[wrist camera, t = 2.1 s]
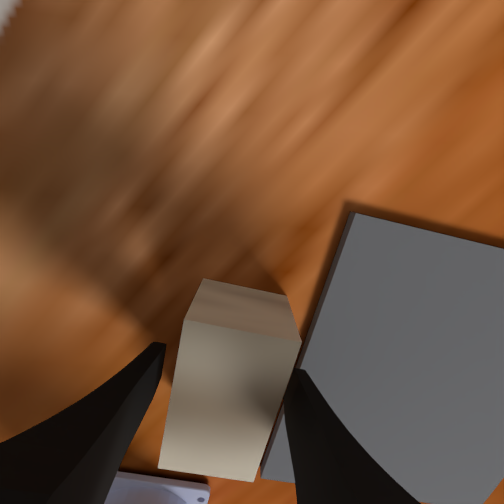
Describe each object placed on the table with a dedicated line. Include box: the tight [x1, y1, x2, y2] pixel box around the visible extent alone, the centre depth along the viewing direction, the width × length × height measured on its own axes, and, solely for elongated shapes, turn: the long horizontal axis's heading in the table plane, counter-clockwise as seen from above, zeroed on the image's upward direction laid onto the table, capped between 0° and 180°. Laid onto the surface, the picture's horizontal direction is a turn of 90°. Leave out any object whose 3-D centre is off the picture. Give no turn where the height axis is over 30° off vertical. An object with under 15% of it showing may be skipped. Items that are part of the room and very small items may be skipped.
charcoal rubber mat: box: [260, 211, 504, 504], centre depth 14 cm, size 18×16×1 cm
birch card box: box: [158, 278, 302, 482], centre depth 12 cm, size 8×4×4 cm, turn 167°
